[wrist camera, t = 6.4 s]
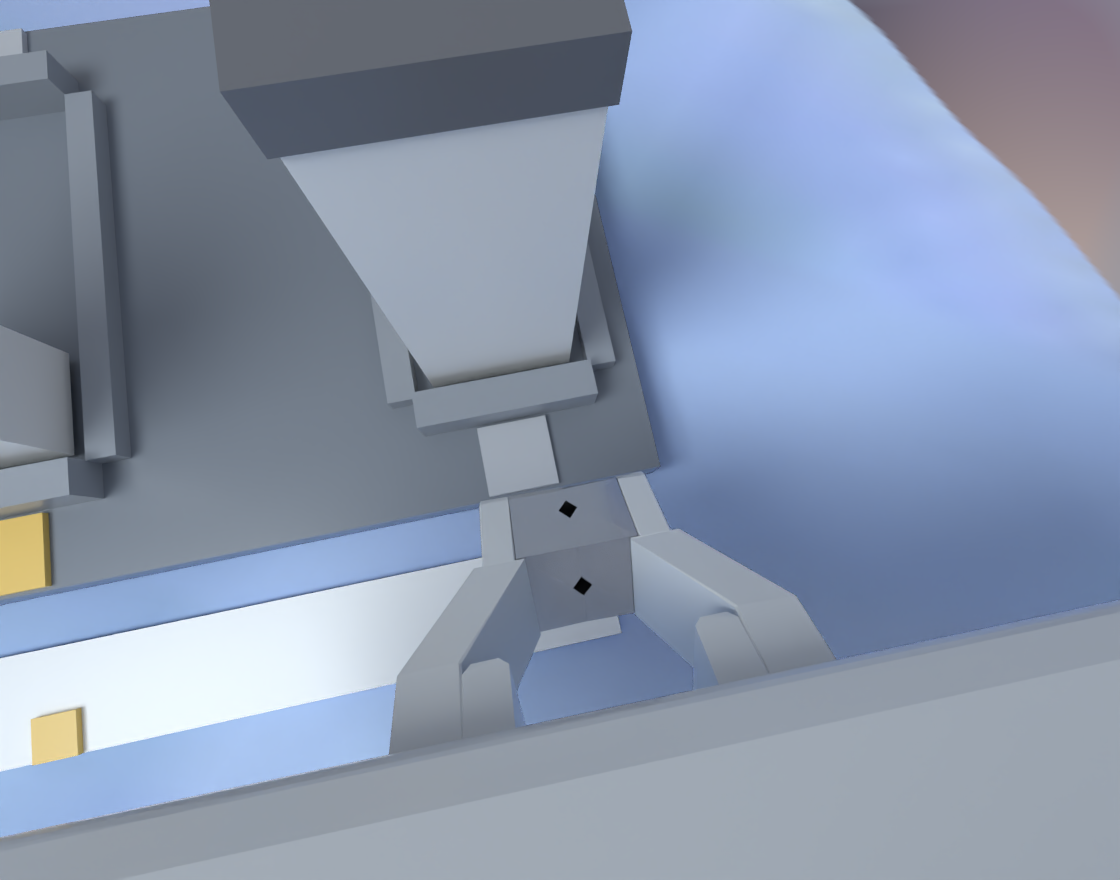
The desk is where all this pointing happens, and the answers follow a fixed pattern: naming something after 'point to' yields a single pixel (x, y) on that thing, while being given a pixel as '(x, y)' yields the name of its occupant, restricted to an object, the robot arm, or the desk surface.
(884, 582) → the desk surface
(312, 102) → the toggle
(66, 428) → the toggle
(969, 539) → the desk surface
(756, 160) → the desk surface
